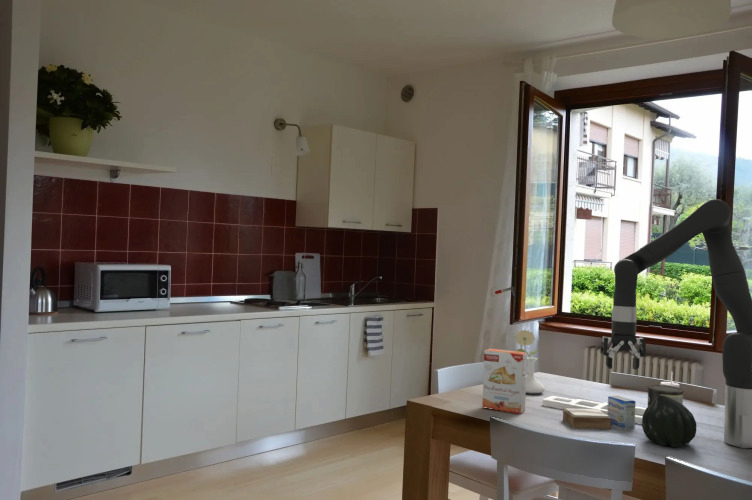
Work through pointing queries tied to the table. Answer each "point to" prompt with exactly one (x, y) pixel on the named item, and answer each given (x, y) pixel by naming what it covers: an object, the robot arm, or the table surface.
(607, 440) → the table surface
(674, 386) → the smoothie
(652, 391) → the coffee can
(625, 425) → the medicine box
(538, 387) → the flower in vase
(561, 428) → the table surface
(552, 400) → the holder
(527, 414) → the table surface
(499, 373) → the cracker box
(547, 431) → the table surface
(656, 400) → the squash
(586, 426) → the plinth
